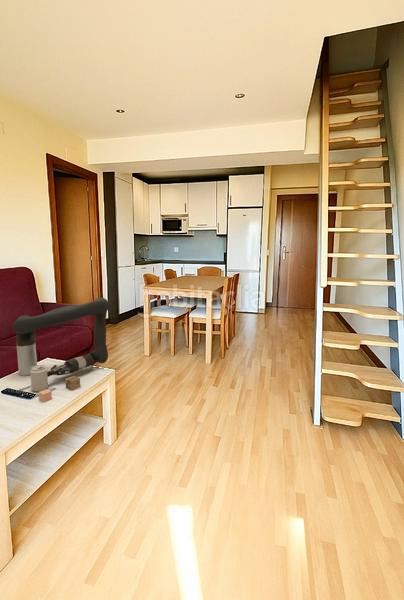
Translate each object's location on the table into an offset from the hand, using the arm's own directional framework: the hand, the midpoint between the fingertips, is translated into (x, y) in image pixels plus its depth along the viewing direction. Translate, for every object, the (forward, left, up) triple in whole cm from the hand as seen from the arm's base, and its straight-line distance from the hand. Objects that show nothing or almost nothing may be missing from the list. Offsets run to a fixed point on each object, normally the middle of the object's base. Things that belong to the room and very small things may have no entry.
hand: (45, 374), depth 155 cm
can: (0, -4, -6) cm, 7 cm away
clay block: (+13, -8, -6) cm, 17 cm away
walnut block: (+12, +7, -6) cm, 16 cm away
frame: (0, -5, -6) cm, 8 cm away
